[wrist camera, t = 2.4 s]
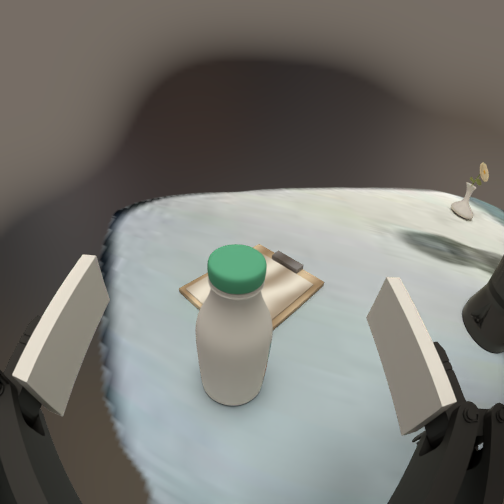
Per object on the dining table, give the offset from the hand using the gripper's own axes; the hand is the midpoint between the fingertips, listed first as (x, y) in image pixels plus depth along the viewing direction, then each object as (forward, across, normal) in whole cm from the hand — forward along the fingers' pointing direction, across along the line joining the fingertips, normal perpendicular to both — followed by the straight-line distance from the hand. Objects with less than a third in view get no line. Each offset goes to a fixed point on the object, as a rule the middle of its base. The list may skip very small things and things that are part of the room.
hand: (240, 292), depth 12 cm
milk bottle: (+8, 0, -25) cm, 26 cm away
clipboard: (+26, +3, -24) cm, 36 cm away
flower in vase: (+72, +90, -23) cm, 118 cm away
